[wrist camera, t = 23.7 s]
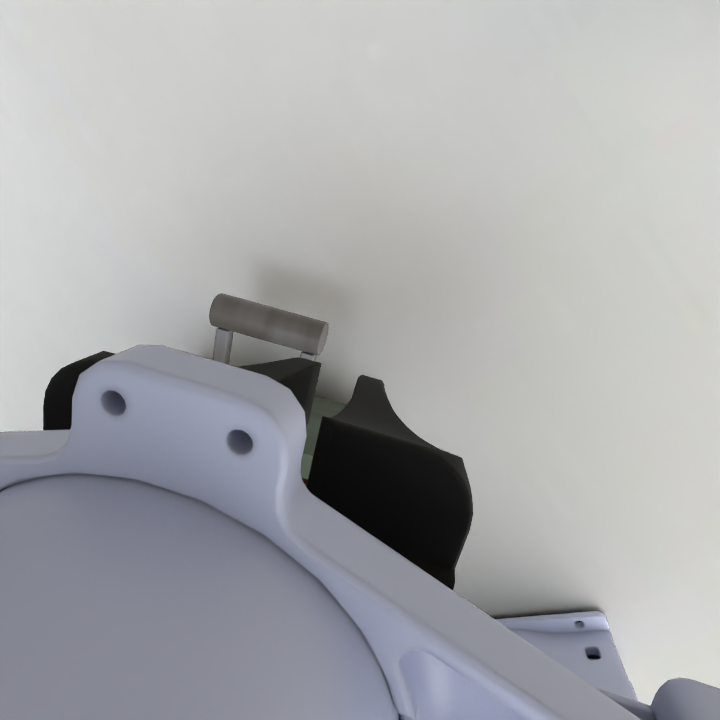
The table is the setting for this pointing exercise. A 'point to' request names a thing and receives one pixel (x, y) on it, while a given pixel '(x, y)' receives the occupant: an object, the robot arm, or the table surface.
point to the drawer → (278, 330)
